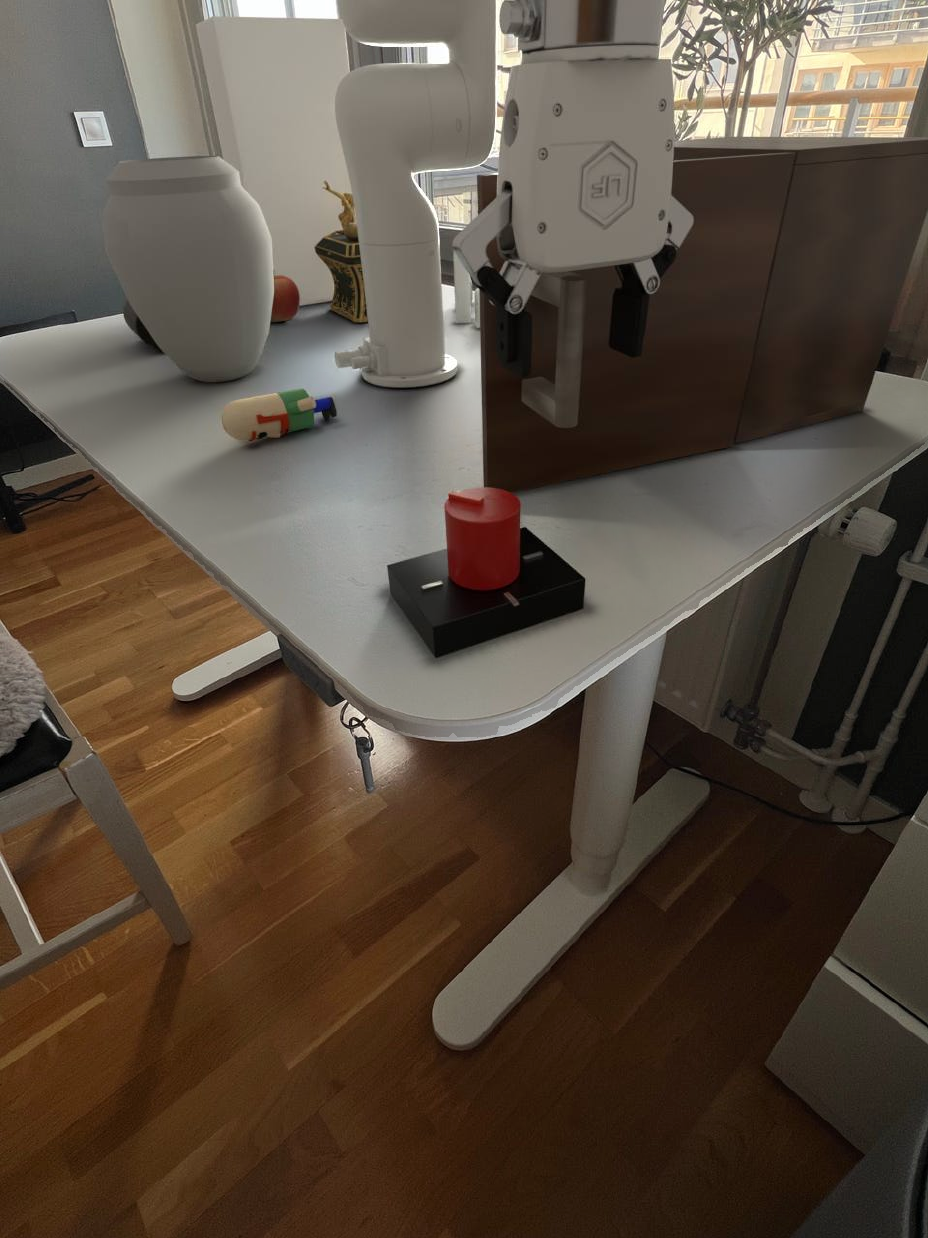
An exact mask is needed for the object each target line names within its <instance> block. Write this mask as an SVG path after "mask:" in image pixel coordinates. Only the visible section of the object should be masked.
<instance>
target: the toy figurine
mask: <svg viewBox="0 0 928 1238" xmlns="http://www.w3.org/2000/svg"><path fill="white" fill-rule="evenodd" d="M318 413H321V415H322V418H323V420H324V421H325V422H327V421H330V420H331V418H336V417H337V416H338V411H337V407H336V403H335V400H334V398H333V397H332V396H329V397H328V396H327V397H321V398H314V397H313V396H310V395H309V393H308V392H307V391H306V390H305V389H304V388H297V389H291V390H285V391H280V392H274V393H268V394H263V395H257V396H251V397H245V398H240V399H235V400H231V401H230V402H228V403H227V404H226V405H225V406H224V407H223V409H222V412H221V417H220V420H221V425H222V428H223V429H224V431H225V432H226V434H227V435H228V436H229V437H231V438H233V439H235V440H237V441H241V442H244V441H248V442H254V441H256V440H263V439H264V438H274V439H279V438H281V436H283V435H287V434H288V433H291V432H295V431H299V430H304V429H311V428H313V427H314V425H315V416H316V415H315V414H318Z"/></svg>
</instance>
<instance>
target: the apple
mask: <svg viewBox="0 0 928 1238" xmlns="http://www.w3.org/2000/svg"><path fill="white" fill-rule="evenodd" d="M273 276H274V269H273ZM299 303H300V294H299V290H298V288H297V286H296V284H295V283H294V282H293V281H292V280H291V279H290V278H288V277H285V276H282V275H279V276H274V296H273V304H272V312H271V320H270V323H271V322H272V323H278V322H286V321H290V320H293V319H294V317H296V315H297V313H298V311H299V308H300V306H299Z"/></svg>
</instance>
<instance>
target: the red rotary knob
mask: <svg viewBox="0 0 928 1238" xmlns="http://www.w3.org/2000/svg"><path fill="white" fill-rule="evenodd" d="M447 496H448V498H447V499H446V501H445V502H444V505H443V506H444V524H445V540H446V549H447V558H448V573H449V576H450V578H451V579H452V581H453V582H455V583H456V584H458V585H459V586H461V587H464V588H467V589H471V590H480V591H485V590H494V589H499V588H502V587H505V586H507V585H509V584H511V583H512V582H513V581H514V580H515V579H516V578H517V577H518V575H519V572H520V528H521V513H522V512H521V509H522V507H521V505H522V504H521V501H520V499H519V497H518V496H517V495H515V494H514V493H513V492H512V493H510V492H508V491H505V490H502V489H497V488H488V487H484V486H482V487H472V488H471V487H470V488H466V489H463V490H461V491H457V490H451V491H450V492H449V493H448V495H447Z"/></svg>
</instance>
